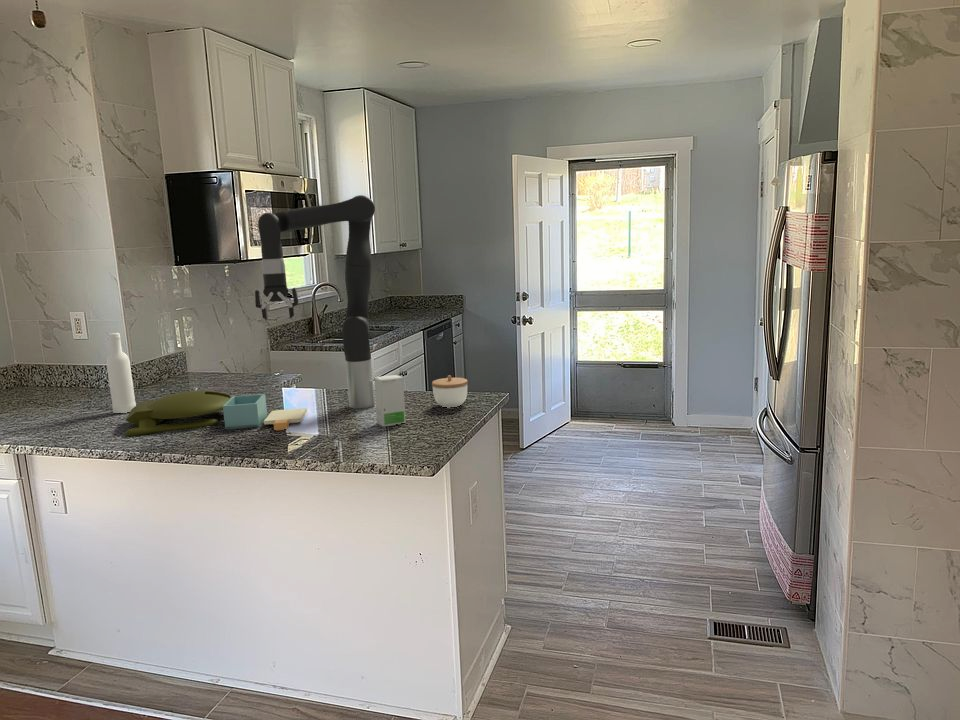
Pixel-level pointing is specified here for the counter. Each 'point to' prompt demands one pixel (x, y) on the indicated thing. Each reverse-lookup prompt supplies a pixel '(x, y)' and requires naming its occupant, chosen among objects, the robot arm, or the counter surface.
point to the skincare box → (389, 400)
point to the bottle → (120, 377)
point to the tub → (245, 411)
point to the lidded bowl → (450, 391)
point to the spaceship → (175, 411)
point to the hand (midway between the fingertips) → (278, 318)
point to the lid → (285, 417)
